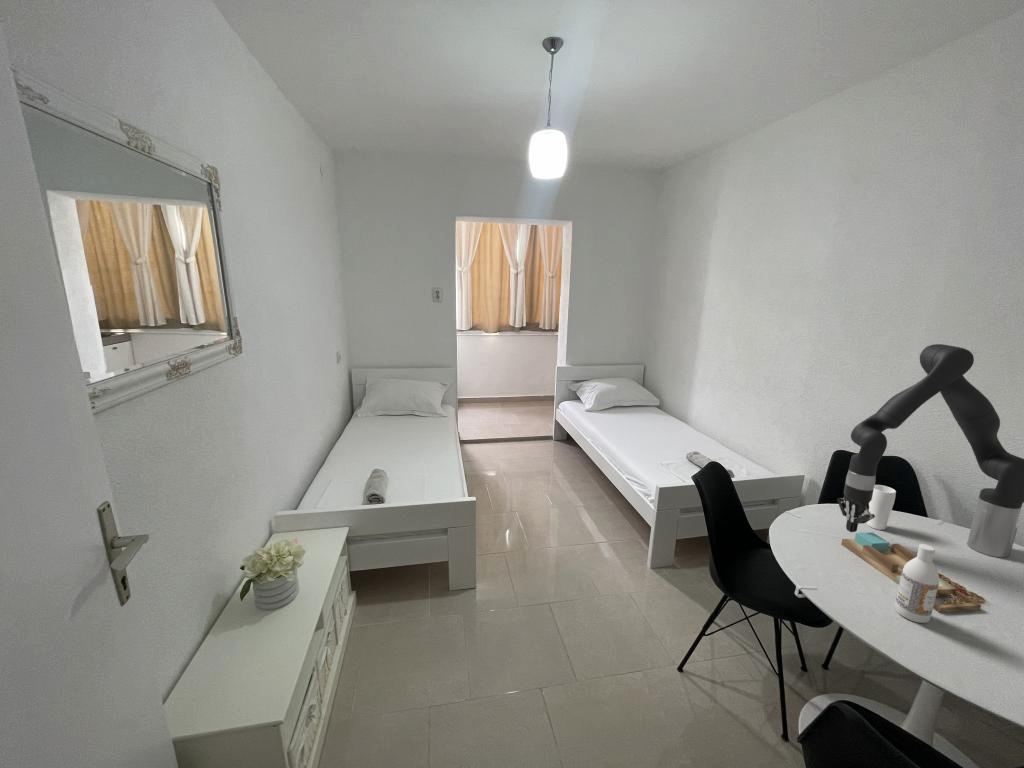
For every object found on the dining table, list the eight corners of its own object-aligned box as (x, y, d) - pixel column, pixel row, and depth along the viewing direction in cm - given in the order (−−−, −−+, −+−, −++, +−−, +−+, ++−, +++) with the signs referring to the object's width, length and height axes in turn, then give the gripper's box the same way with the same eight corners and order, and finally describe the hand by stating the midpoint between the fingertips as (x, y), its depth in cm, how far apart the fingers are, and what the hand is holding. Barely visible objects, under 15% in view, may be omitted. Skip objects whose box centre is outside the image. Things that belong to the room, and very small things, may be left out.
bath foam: (916, 626, 110) (932, 556, 105) (887, 607, 116) (901, 541, 112) (936, 621, 111) (953, 553, 107) (907, 603, 118) (922, 537, 114)
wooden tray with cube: (874, 542, 146) (876, 530, 145) (979, 610, 115) (983, 595, 114) (841, 544, 145) (843, 532, 144) (939, 612, 114) (942, 598, 113)
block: (871, 540, 144) (872, 532, 143) (887, 551, 138) (889, 542, 137) (854, 541, 143) (855, 533, 143) (870, 551, 138) (872, 543, 137)
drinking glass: (879, 522, 159) (886, 484, 156) (893, 532, 152) (901, 493, 149) (859, 521, 160) (866, 484, 156) (872, 531, 153) (880, 492, 150)
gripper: (888, 493, 138) (878, 541, 142) (853, 475, 151) (845, 520, 155) (866, 494, 138) (857, 542, 141) (833, 476, 151) (825, 521, 154)
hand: (850, 530), depth 148 cm, fingers closed
